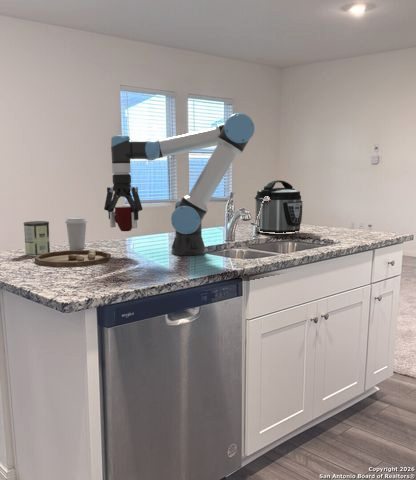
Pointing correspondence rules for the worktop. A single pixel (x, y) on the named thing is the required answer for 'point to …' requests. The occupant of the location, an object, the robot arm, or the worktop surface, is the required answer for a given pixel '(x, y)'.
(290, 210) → the pressure cooker
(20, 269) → the worktop surface
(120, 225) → the mug
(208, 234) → the worktop surface
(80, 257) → the bead
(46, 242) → the coffee can
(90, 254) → the bead
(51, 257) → the ring tray
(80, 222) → the coffee cup
